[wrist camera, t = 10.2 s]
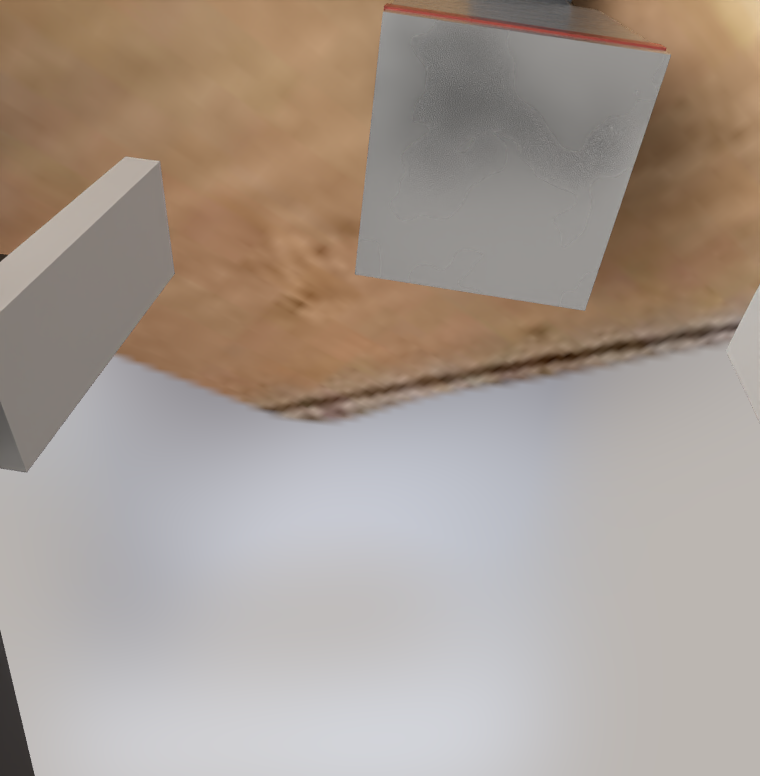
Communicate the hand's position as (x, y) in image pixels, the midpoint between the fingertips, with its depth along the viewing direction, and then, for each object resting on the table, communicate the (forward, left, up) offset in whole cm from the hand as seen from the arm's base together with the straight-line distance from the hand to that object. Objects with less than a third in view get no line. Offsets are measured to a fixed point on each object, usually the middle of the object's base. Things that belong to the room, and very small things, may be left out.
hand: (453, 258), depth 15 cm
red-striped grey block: (0, 0, -13) cm, 13 cm away
